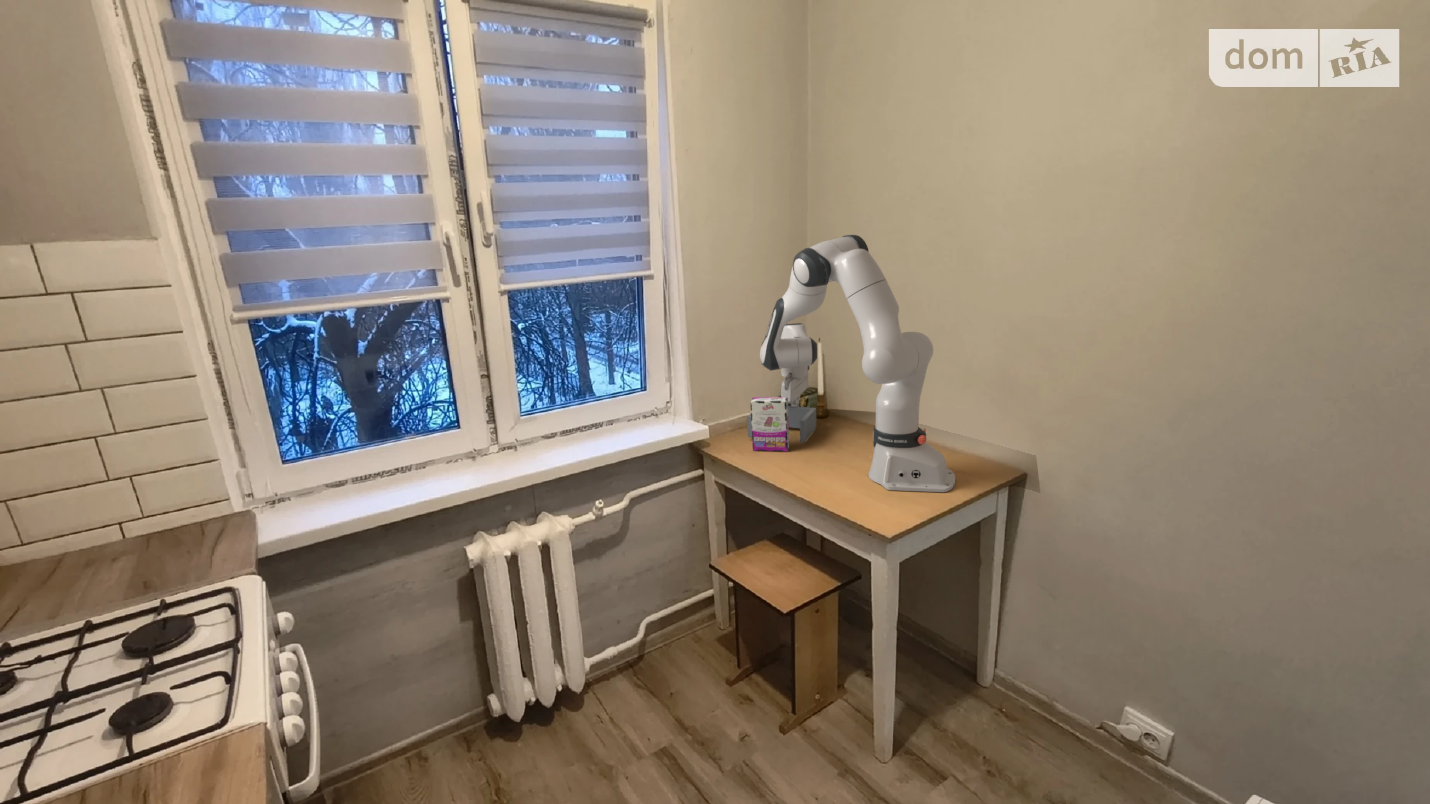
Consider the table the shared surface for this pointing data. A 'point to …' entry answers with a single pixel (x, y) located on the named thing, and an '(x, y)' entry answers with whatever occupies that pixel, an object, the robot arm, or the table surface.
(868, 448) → the table surface
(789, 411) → the gray u-shaped holder
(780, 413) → the candy bar box
